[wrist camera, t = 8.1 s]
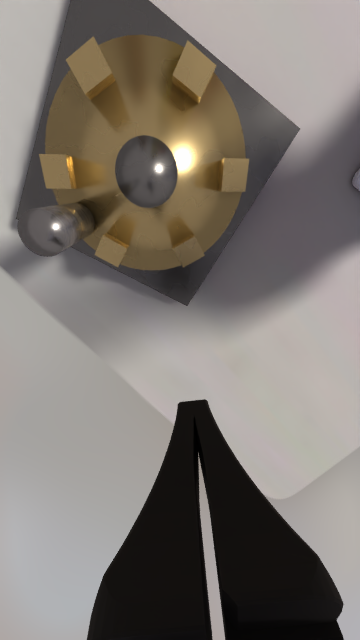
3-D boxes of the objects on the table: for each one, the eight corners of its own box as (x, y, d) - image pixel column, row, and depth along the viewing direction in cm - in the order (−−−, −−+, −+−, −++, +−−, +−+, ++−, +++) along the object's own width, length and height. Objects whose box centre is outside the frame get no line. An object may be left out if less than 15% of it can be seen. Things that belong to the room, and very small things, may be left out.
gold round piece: (185, -5, 11) (199, -182, 6) (263, 212, 15) (312, 225, 10) (10, 137, 13) (-96, 102, 8) (122, 292, 17) (102, 336, 12)
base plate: (94, -26, 11) (83, -58, 10) (288, 134, 15) (301, 128, 13) (28, 216, 16) (14, 218, 15) (185, 298, 19) (187, 307, 18)
